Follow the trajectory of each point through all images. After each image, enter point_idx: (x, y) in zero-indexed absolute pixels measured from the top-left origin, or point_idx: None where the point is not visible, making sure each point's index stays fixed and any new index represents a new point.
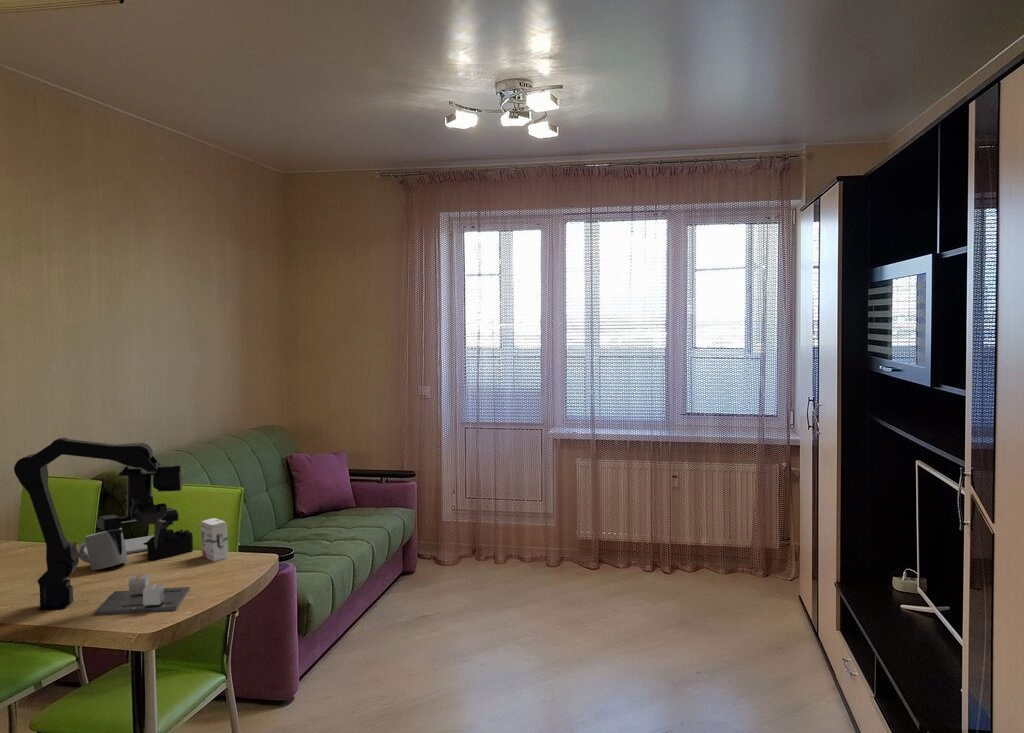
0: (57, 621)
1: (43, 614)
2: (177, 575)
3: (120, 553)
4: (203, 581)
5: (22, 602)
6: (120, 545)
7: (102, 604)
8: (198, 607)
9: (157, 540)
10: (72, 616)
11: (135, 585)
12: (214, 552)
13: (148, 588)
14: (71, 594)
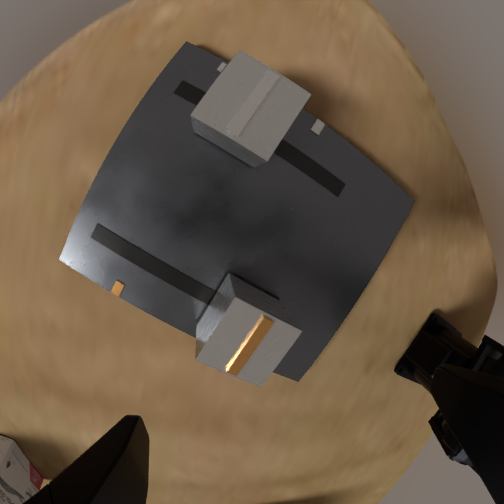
0: (465, 226)
1: (460, 306)
2: (88, 429)
3: (449, 365)
4: (21, 325)
5: (435, 408)
6: (498, 388)
7: (379, 260)
8: (118, 36)
9: (115, 471)
10: (439, 241)
11: (269, 306)
12: (3, 455)
13: (282, 93)
14: (425, 354)
